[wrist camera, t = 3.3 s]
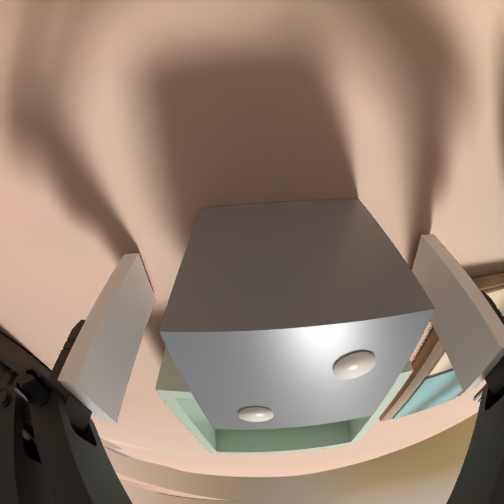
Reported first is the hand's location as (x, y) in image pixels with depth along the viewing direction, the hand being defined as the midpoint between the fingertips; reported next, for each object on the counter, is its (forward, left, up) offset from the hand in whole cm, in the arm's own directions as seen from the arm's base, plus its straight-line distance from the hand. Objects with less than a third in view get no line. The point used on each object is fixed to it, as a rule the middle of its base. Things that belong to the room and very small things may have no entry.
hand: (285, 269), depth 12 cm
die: (0, 0, 0) cm, 0 cm away
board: (+15, -11, 0) cm, 19 cm away
